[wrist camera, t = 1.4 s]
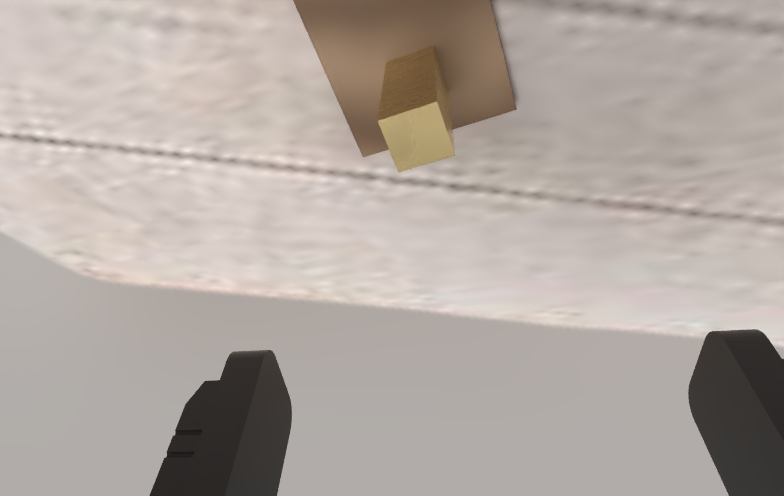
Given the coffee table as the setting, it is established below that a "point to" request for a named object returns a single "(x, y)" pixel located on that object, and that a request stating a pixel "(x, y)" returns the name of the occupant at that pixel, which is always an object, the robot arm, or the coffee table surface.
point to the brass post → (416, 110)
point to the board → (401, 37)
